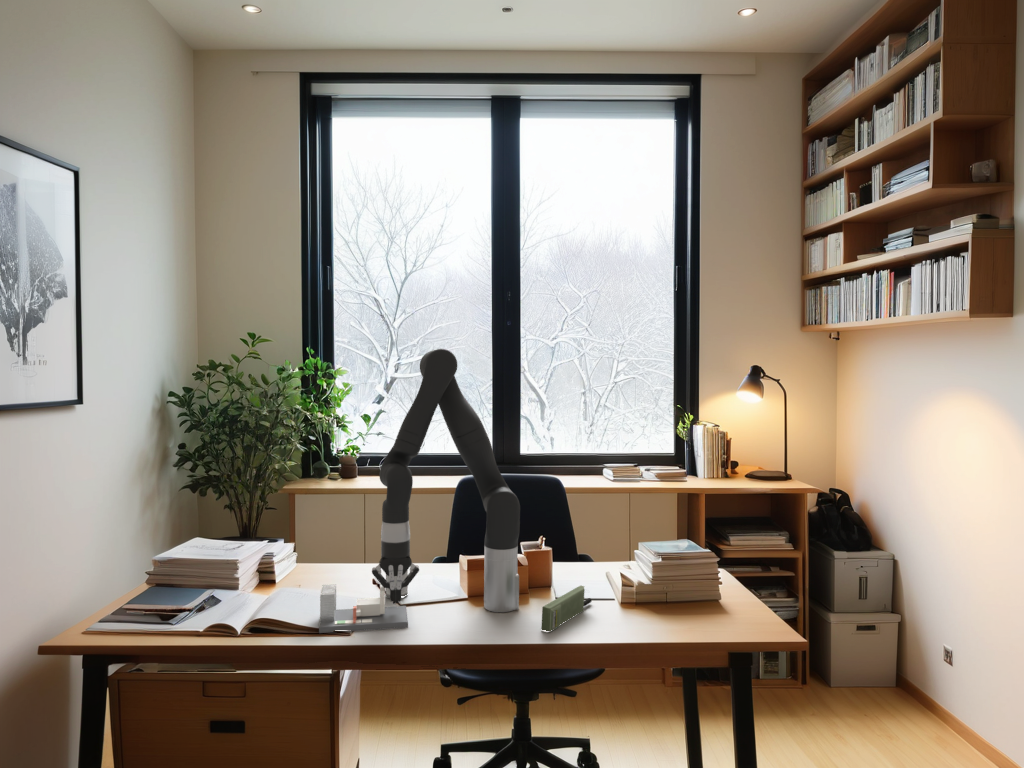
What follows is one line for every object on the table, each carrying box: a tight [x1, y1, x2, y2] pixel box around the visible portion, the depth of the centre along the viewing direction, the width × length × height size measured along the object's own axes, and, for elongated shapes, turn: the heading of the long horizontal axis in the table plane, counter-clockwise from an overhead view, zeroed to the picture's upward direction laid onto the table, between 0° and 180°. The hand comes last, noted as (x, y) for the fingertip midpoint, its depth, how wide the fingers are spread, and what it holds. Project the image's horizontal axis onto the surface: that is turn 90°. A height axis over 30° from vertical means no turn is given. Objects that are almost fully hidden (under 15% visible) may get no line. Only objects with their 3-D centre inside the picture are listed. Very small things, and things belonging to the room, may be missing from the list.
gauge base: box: [318, 605, 409, 634], centre depth 183 cm, size 22×12×2 cm, turn 101°
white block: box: [356, 583, 386, 617], centre depth 184 cm, size 7×8×6 cm
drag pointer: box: [352, 605, 357, 623], centre depth 179 cm, size 1×4×3 cm, turn 11°
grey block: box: [319, 584, 337, 623], centre depth 182 cm, size 4×8×7 cm, turn 11°
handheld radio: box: [540, 585, 592, 632], centre depth 187 cm, size 7×3×25 cm
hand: (395, 602), depth 186 cm, fingers closed
